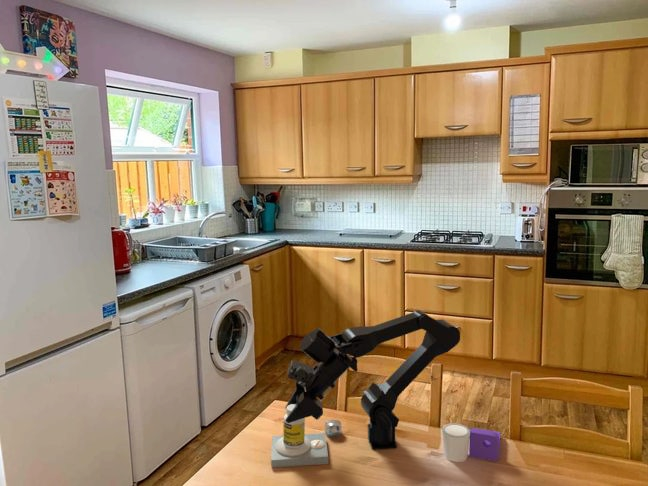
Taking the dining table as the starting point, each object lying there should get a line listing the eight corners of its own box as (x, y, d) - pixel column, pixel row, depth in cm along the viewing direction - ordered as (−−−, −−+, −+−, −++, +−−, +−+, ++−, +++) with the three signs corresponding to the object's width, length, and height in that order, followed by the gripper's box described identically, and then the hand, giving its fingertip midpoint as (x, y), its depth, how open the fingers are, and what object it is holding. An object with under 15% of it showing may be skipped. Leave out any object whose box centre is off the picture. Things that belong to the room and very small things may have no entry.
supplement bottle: (280, 447, 133) (280, 410, 132) (286, 436, 139) (287, 401, 137) (301, 450, 132) (301, 413, 131) (306, 439, 137) (307, 403, 136)
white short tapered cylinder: (474, 454, 133) (475, 429, 132) (461, 467, 128) (461, 440, 127) (449, 445, 138) (450, 420, 137) (436, 456, 133) (436, 430, 132)
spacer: (340, 429, 147) (340, 419, 147) (342, 437, 143) (341, 427, 142) (324, 429, 147) (324, 419, 146) (325, 438, 143) (325, 428, 142)
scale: (324, 439, 142) (324, 430, 141) (328, 463, 131) (328, 454, 131) (272, 443, 141) (272, 434, 140) (271, 467, 130) (271, 457, 130)
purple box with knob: (497, 462, 130) (498, 436, 129) (469, 457, 133) (469, 432, 132) (500, 437, 141) (501, 413, 140) (473, 433, 144) (474, 409, 143)
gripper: (304, 338, 140) (264, 379, 142) (307, 366, 122) (261, 414, 123) (334, 364, 142) (294, 405, 144) (341, 396, 124) (296, 442, 125)
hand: (286, 415), depth 134 cm, fingers open, 6 cm apart
